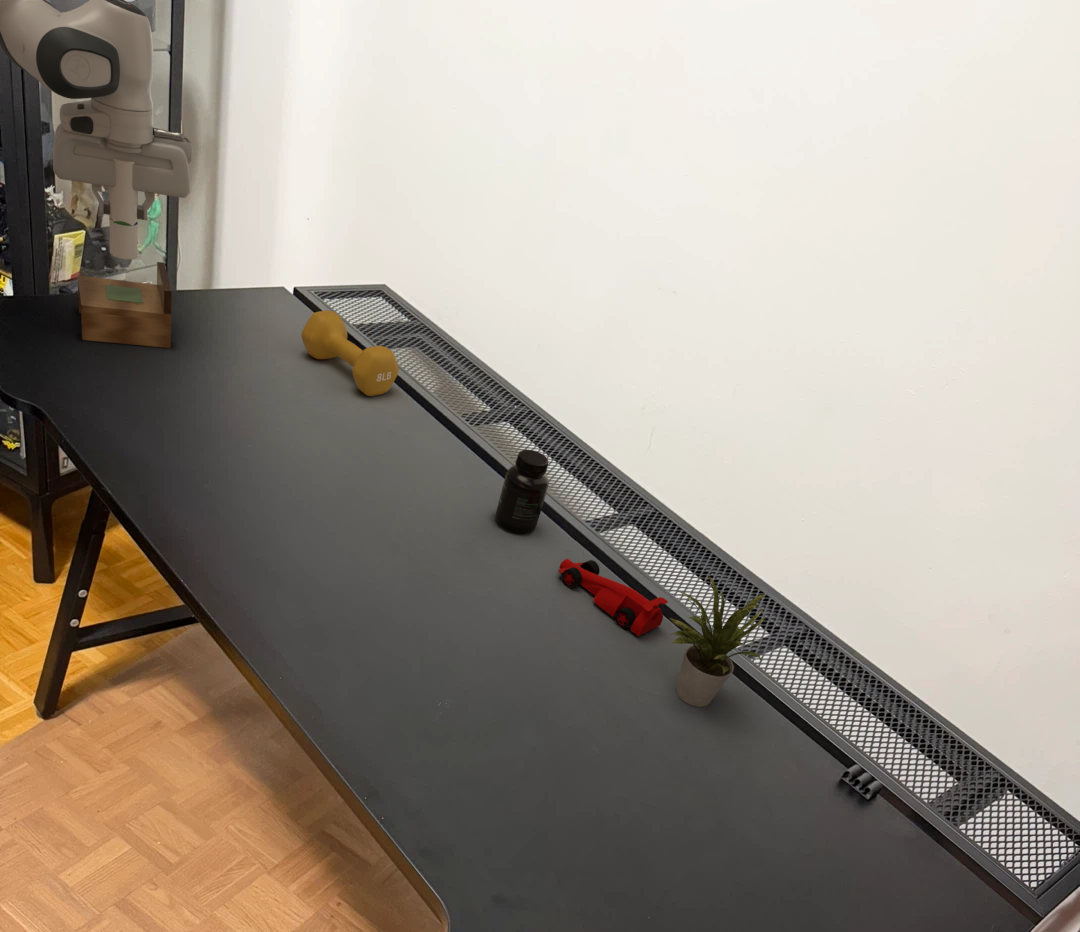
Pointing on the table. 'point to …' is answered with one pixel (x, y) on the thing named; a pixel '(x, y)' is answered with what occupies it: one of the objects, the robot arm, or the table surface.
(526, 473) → the supplement bottle
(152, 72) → the robot arm
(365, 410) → the table surface
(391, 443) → the table surface
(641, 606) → the toy car
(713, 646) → the house plant
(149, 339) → the wooden stand base
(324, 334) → the dumbbell
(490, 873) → the table surface
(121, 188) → the tube
